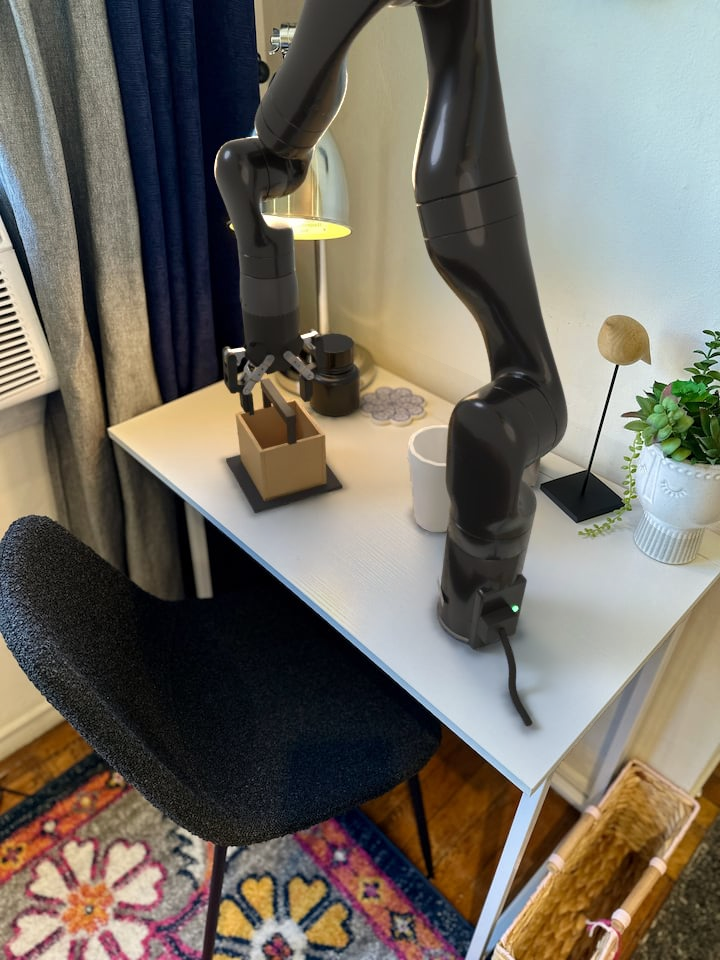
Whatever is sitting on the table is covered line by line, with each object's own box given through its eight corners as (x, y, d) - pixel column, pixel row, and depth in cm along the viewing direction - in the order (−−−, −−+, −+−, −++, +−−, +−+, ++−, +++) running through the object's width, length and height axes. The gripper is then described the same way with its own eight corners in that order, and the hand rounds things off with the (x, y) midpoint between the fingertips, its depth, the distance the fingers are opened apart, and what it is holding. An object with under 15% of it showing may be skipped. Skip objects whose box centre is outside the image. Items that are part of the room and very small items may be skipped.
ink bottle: (342, 384, 133) (342, 325, 125) (371, 405, 127) (372, 345, 120) (298, 401, 128) (295, 340, 121) (325, 423, 123) (324, 361, 115)
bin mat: (342, 487, 110) (342, 485, 109) (254, 513, 105) (254, 511, 104) (307, 438, 119) (307, 437, 119) (226, 460, 115) (225, 458, 114)
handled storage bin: (326, 483, 110) (324, 407, 101) (264, 501, 106) (256, 424, 98) (299, 445, 117) (295, 371, 109) (240, 460, 114) (232, 386, 105)
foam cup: (392, 525, 103) (396, 452, 95) (419, 489, 109) (425, 418, 101) (454, 548, 99) (464, 474, 91) (478, 509, 106) (489, 437, 98)
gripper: (226, 323, 89) (238, 431, 99) (331, 302, 94) (333, 407, 104) (209, 299, 94) (222, 404, 104) (309, 281, 99) (313, 383, 109)
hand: (277, 405), depth 104 cm, fingers open, 8 cm apart
